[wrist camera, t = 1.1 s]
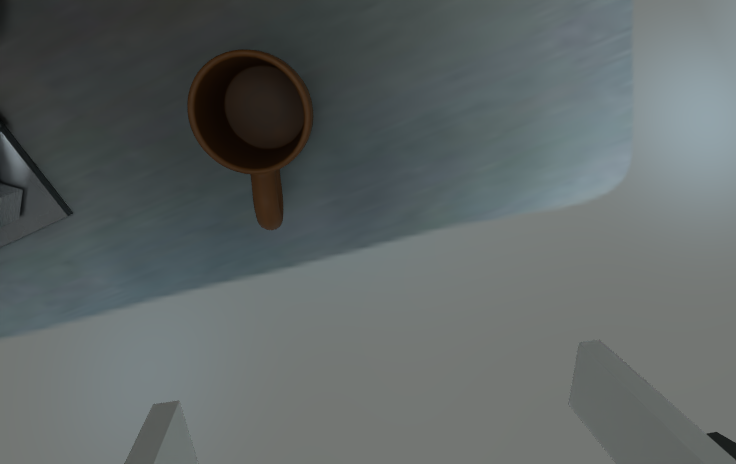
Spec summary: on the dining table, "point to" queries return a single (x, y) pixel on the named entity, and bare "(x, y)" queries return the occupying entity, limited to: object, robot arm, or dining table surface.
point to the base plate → (27, 191)
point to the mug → (252, 121)
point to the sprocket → (9, 204)
